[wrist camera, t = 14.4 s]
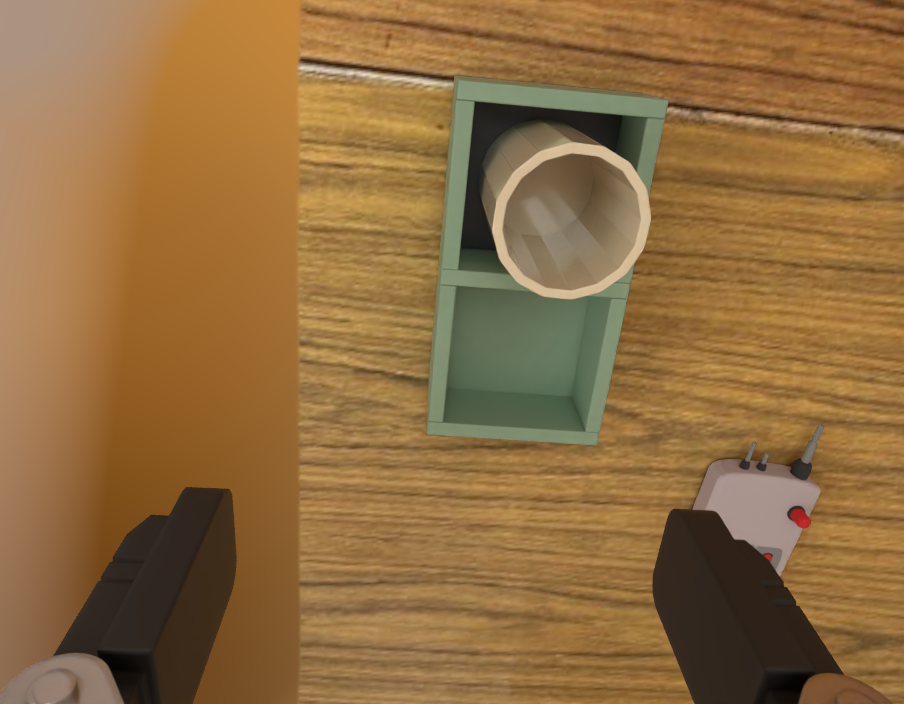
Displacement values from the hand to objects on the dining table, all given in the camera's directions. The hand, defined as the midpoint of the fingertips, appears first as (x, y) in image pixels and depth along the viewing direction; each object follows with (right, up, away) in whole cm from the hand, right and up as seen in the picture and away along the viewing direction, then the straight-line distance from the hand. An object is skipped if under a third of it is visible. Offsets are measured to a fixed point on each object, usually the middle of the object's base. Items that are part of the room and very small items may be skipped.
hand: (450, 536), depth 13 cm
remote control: (+19, -7, +32) cm, 38 cm away
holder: (+4, +9, +24) cm, 26 cm away
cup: (+4, +12, +22) cm, 25 cm away
